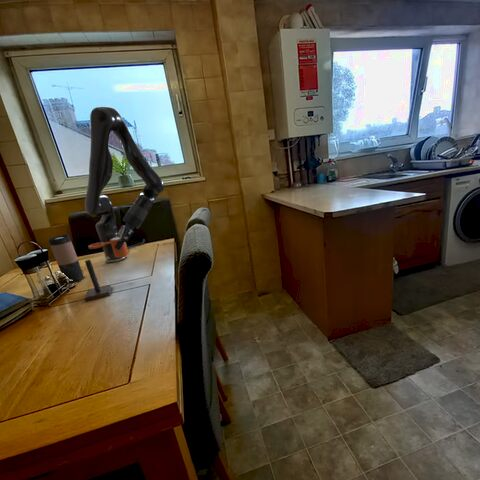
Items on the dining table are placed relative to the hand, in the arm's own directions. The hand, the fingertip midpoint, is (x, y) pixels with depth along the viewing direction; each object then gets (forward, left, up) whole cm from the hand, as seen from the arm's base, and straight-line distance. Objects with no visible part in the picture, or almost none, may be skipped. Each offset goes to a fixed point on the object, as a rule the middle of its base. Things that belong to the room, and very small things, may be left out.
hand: (115, 247), depth 124 cm
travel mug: (-4, -20, -12) cm, 24 cm away
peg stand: (+22, -7, -12) cm, 26 cm away
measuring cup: (+1, -3, -4) cm, 5 cm away
